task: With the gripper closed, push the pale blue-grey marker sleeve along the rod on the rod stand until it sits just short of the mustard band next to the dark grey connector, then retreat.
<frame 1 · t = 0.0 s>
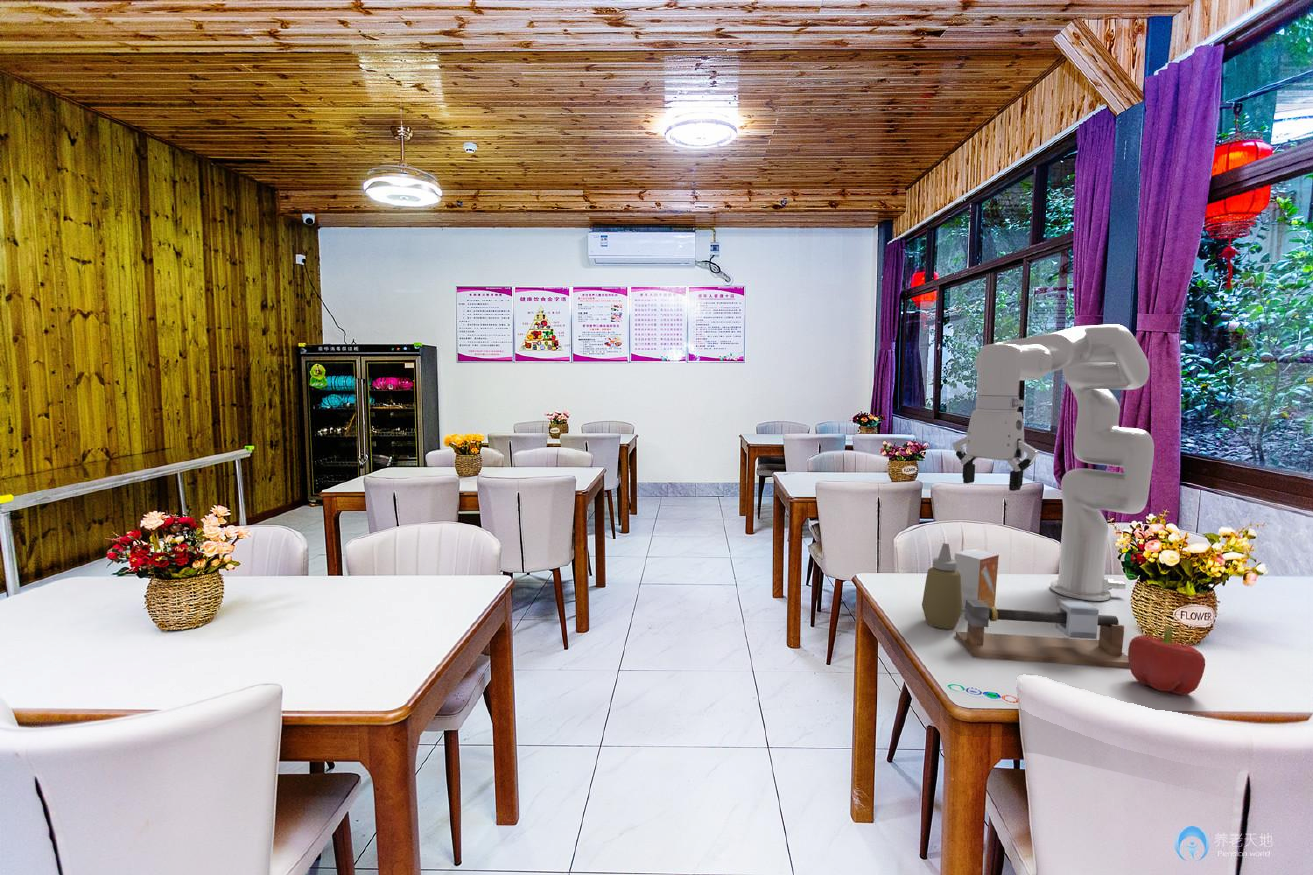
hand: (990, 486, 129), 31 cm above the table, tool pointing down, fingers open, 9 cm apart
rod stand: (1041, 651, 122), on the table
sleeve: (1076, 618, 121), point 7 cm above the table, slide at 0.0 cm
squeeze bottle: (940, 625, 135), on the table
small box: (973, 608, 146), on the table
vegetable: (1162, 687, 109), on the table
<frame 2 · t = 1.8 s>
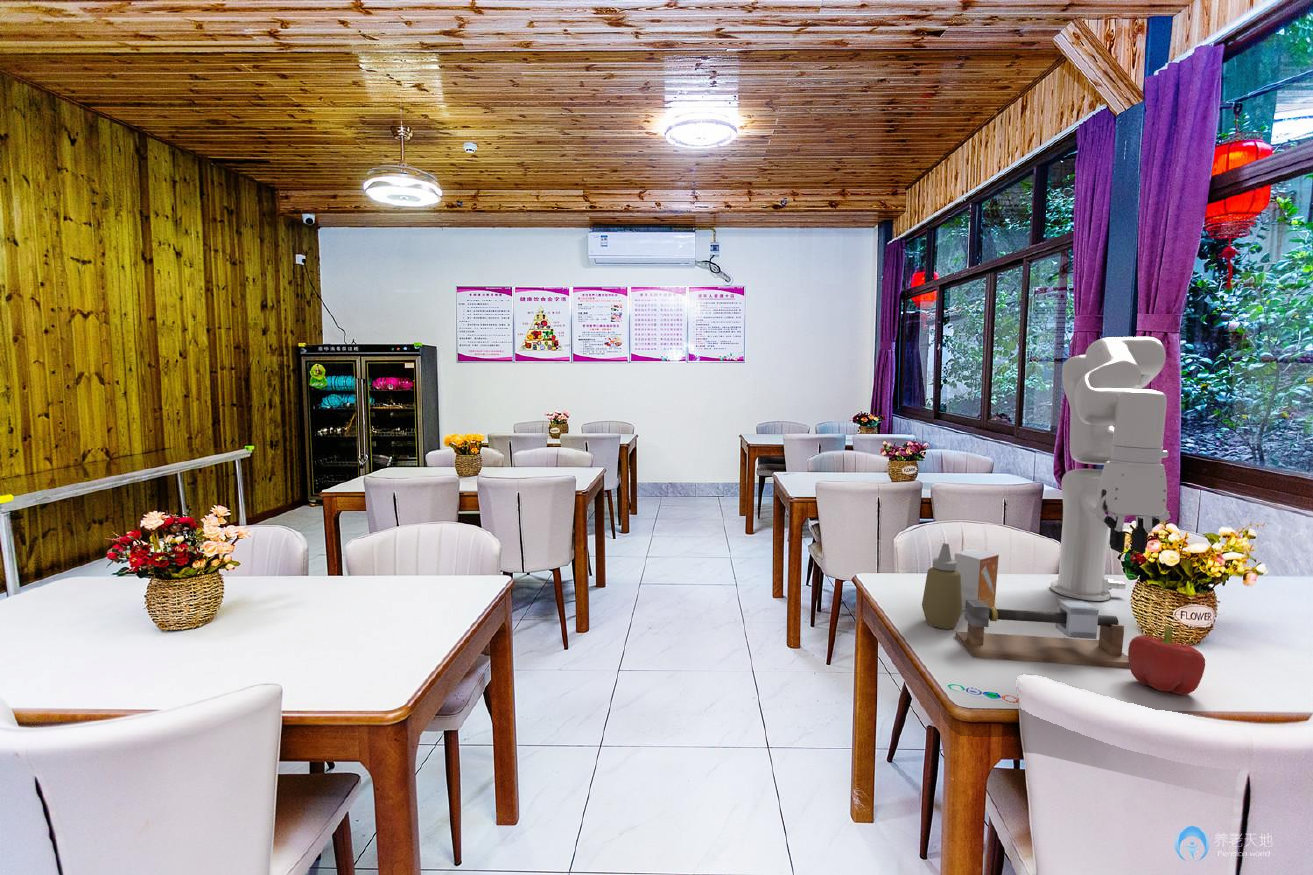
hand: (1127, 550, 119), 21 cm above the table, tool pointing down, fingers open, 3 cm apart
nothing on the table moved.
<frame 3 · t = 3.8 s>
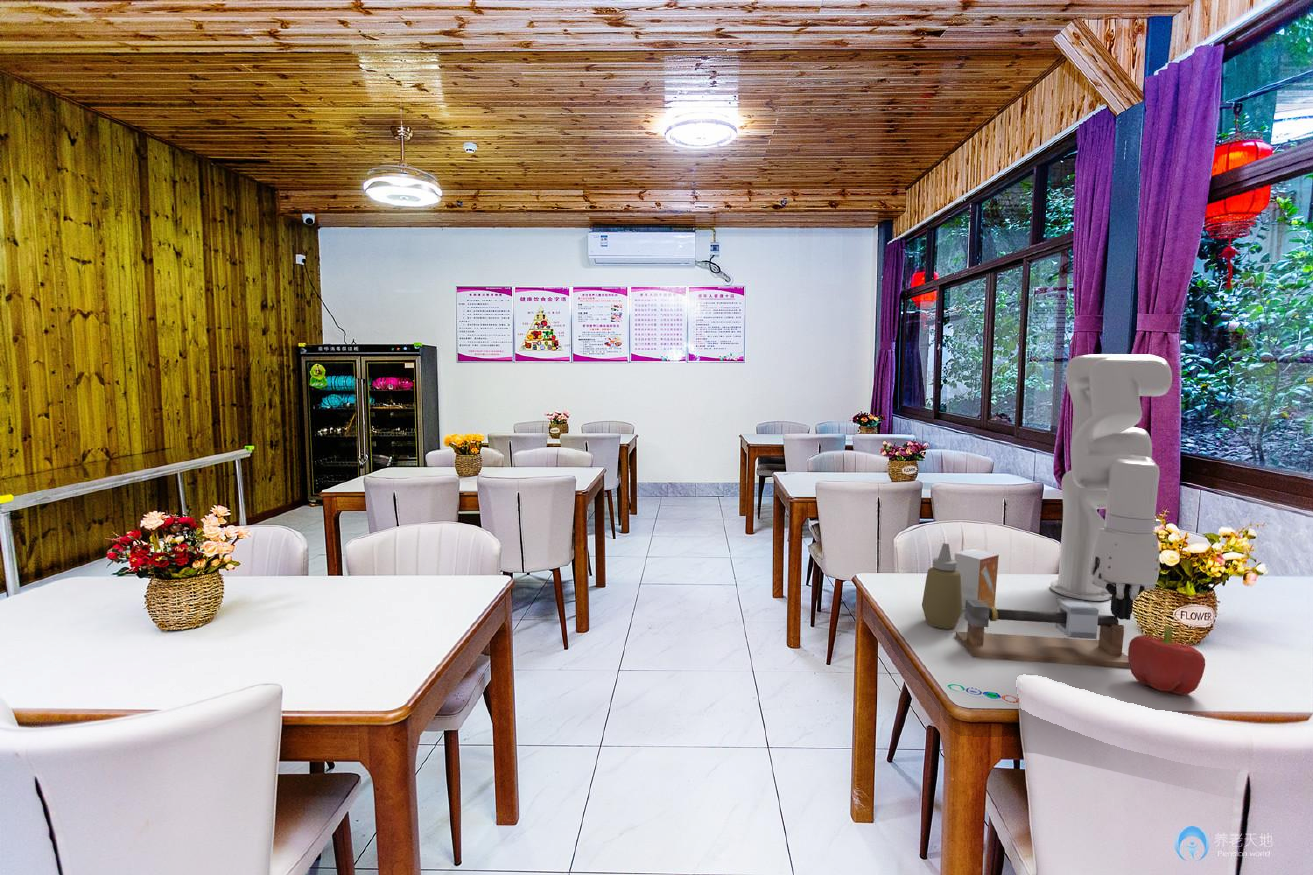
hand: (1120, 616, 120), 8 cm above the table, tool pointing down, fingers closed
nothing on the table moved.
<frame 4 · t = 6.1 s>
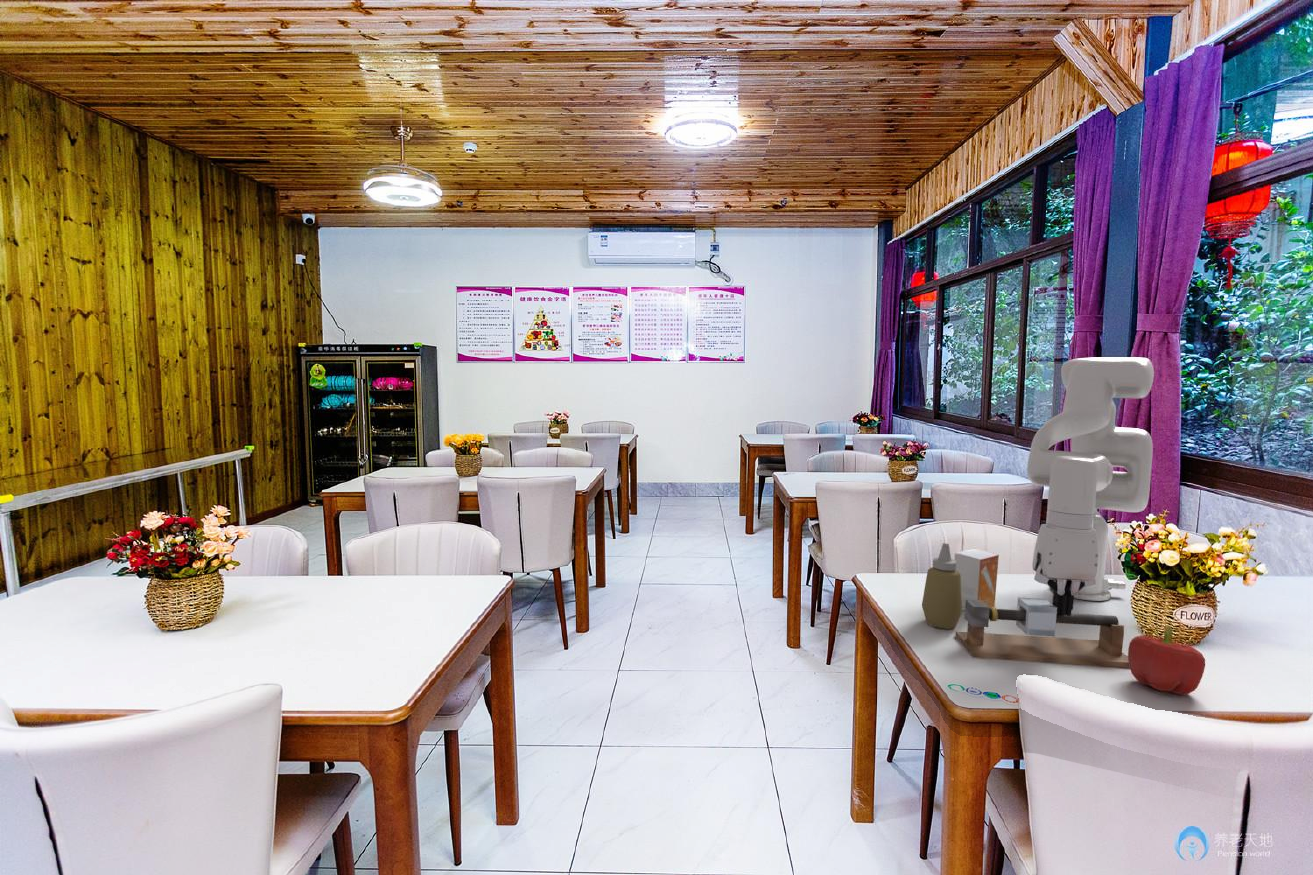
hand: (1062, 612, 120), 8 cm above the table, tool pointing down, fingers closed
sleeve: (1036, 616, 122), point 7 cm above the table, slide at 7.5 cm, touching gripper
everything else where it was.
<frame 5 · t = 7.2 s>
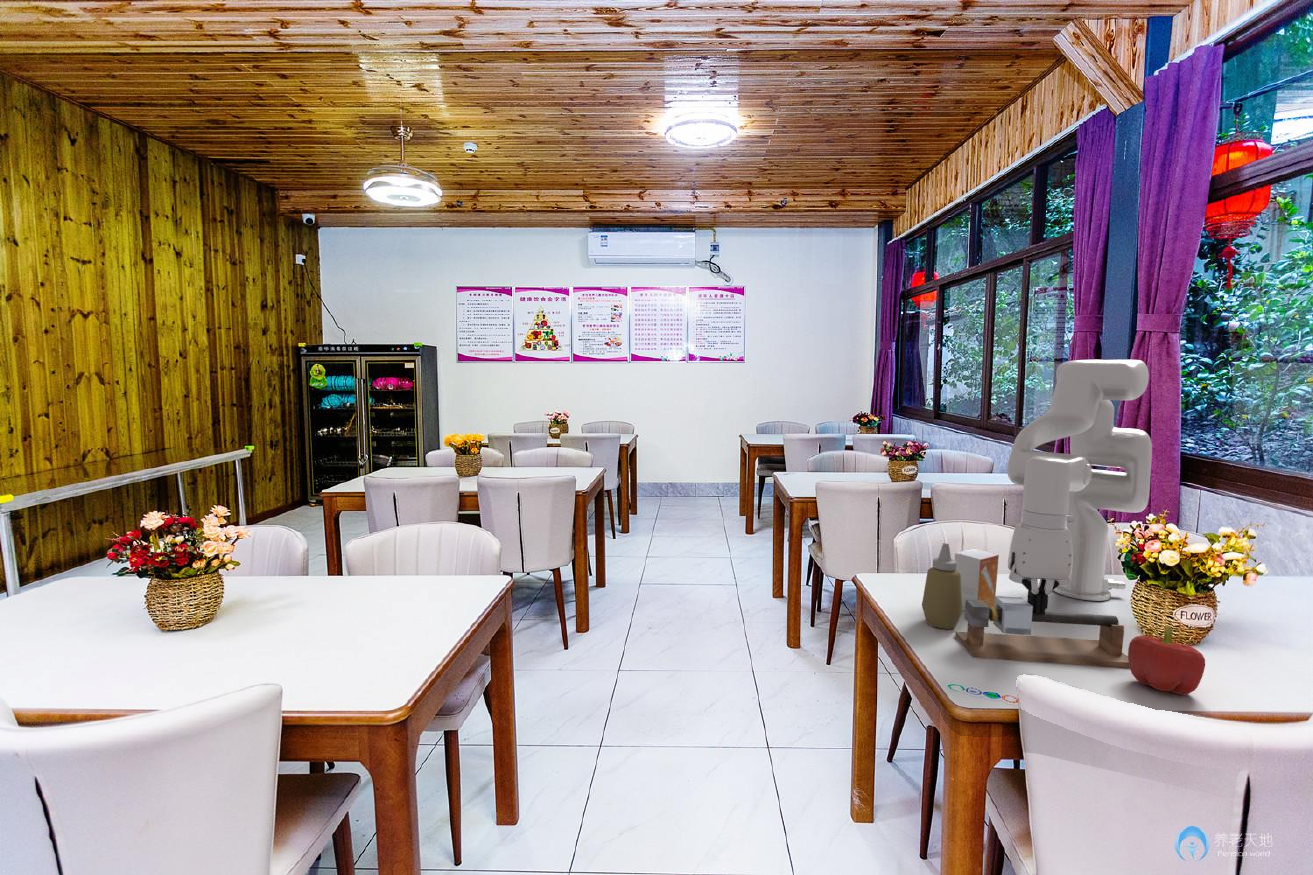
hand: (1036, 611, 122), 8 cm above the table, tool pointing down, fingers closed
sleeve: (1012, 615, 122), point 7 cm above the table, slide at 11.8 cm, touching gripper
everything else where it was.
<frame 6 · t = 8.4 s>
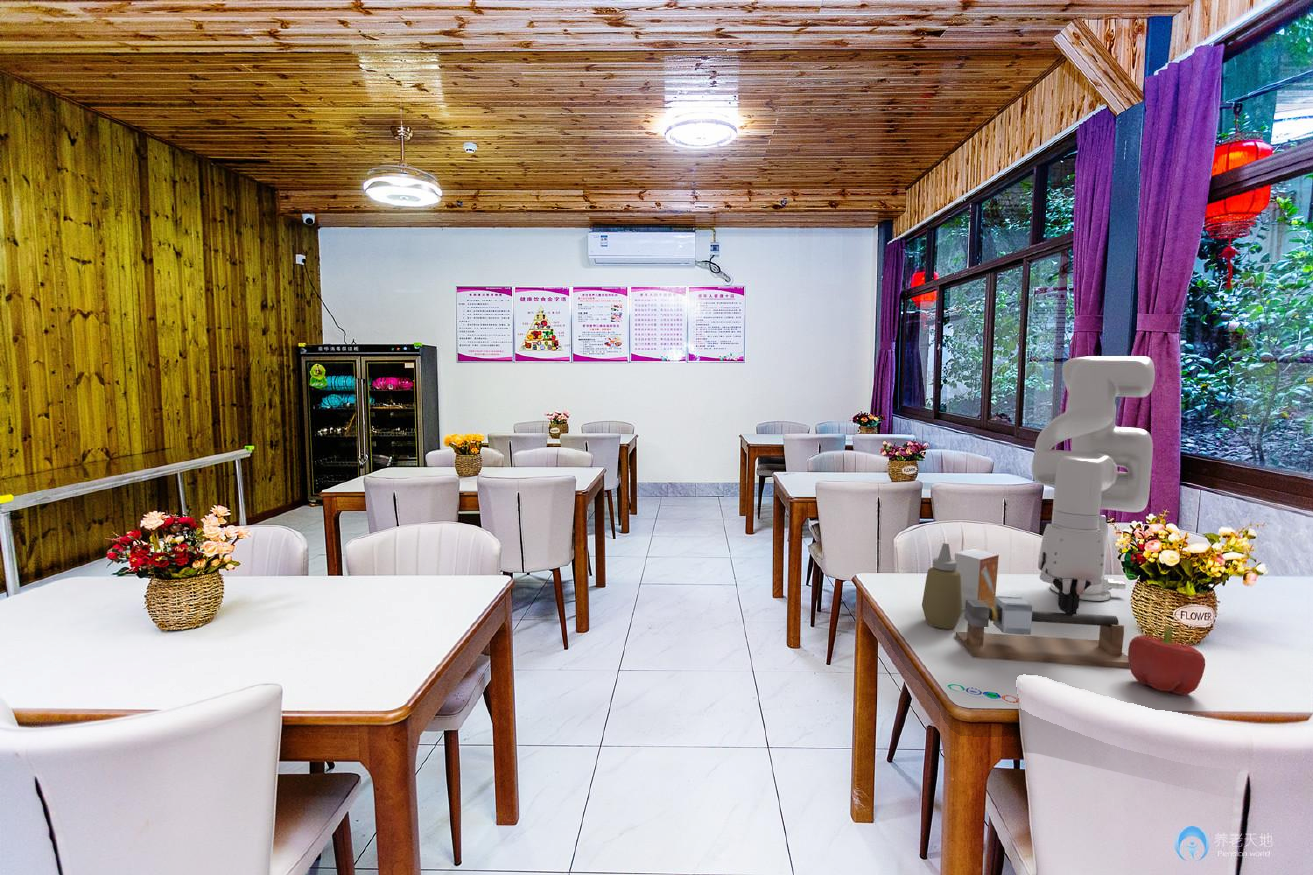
hand: (1067, 611, 121), 8 cm above the table, tool pointing down, fingers closed
sleeve: (1012, 615, 122), point 7 cm above the table, slide at 11.8 cm
everything else where it was.
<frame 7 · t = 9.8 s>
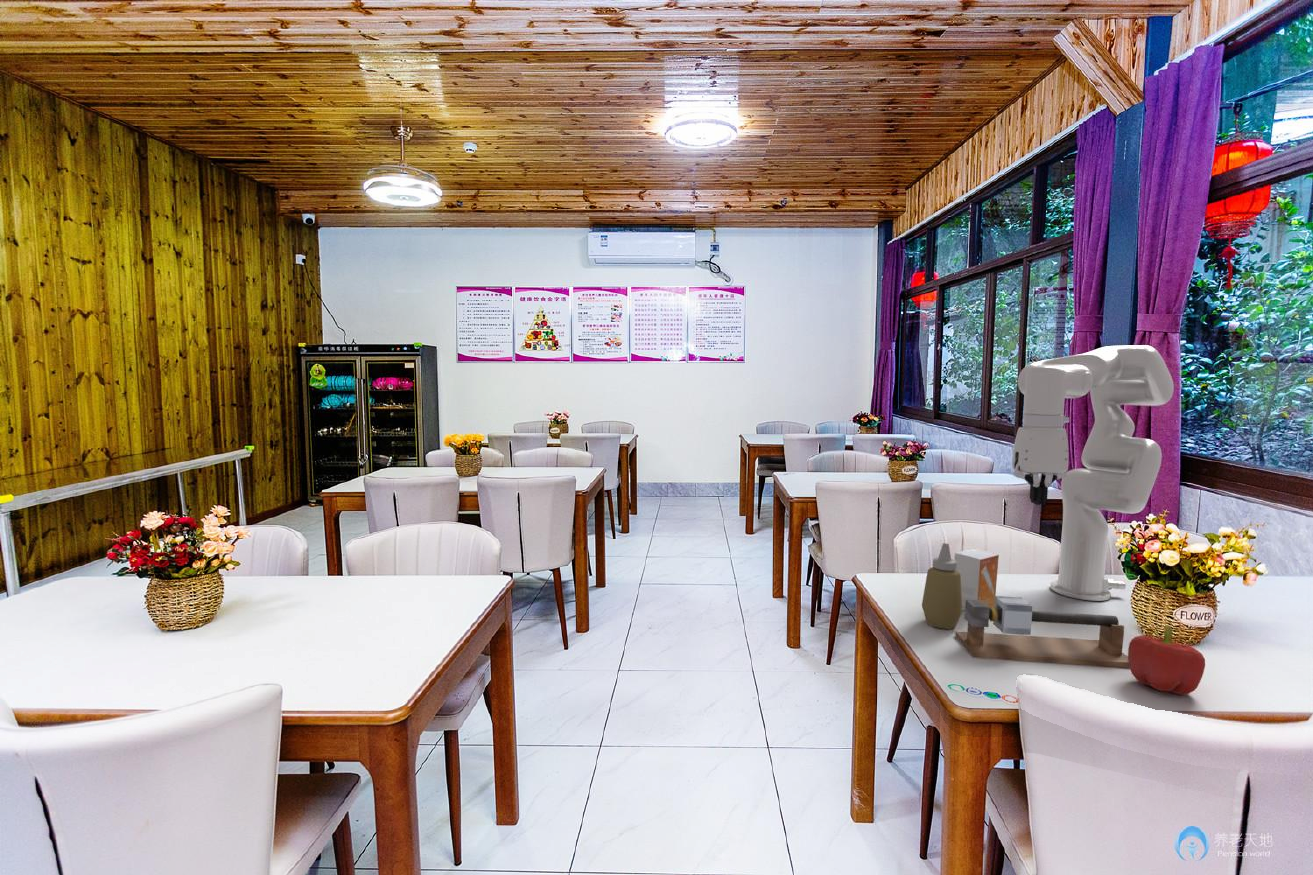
hand: (1038, 503, 139), 26 cm above the table, tool pointing down, fingers closed
nothing on the table moved.
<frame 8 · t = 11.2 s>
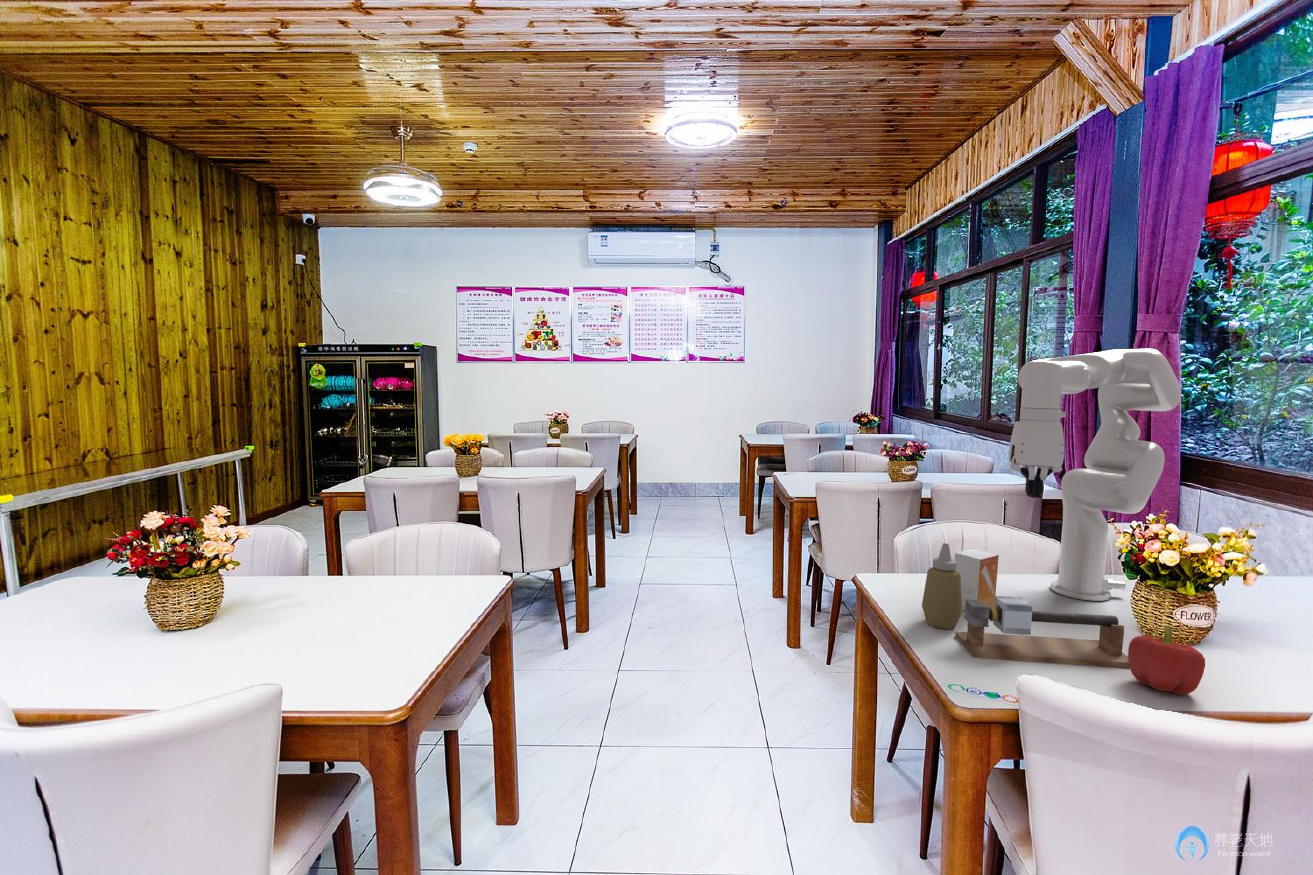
hand: (1033, 496, 141), 27 cm above the table, tool pointing down, fingers closed
nothing on the table moved.
at the end: sleeve slide at 11.8 cm; the gripper is holding nothing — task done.
